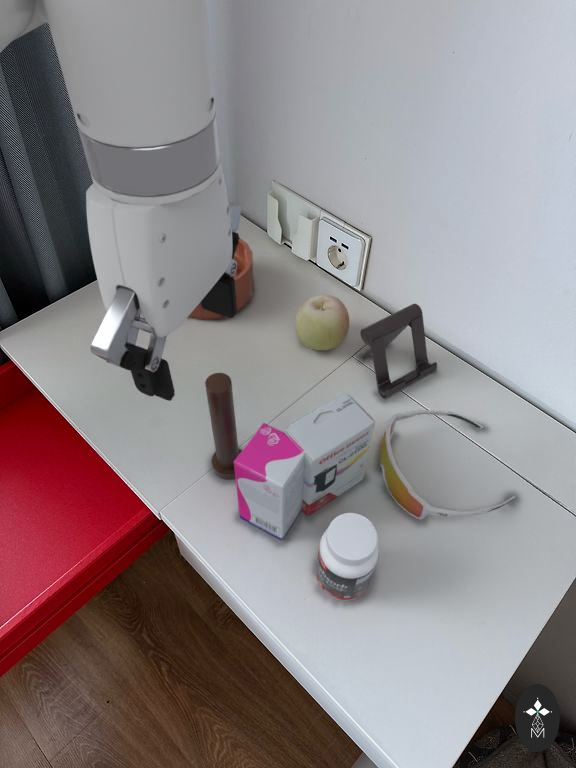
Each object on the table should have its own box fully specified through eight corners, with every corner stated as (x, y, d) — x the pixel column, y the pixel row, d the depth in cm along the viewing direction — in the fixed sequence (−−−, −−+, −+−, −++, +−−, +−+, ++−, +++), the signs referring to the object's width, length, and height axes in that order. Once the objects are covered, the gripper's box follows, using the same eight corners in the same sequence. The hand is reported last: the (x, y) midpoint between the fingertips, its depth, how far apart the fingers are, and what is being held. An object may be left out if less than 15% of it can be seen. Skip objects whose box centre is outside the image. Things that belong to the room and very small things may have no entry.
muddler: (211, 480, 67) (197, 399, 55) (212, 451, 70) (198, 367, 58) (246, 479, 67) (238, 397, 55) (245, 450, 70) (238, 366, 58)
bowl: (164, 323, 84) (156, 289, 78) (170, 265, 92) (164, 231, 87) (254, 320, 84) (253, 286, 79) (253, 262, 92) (251, 228, 87)
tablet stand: (384, 402, 75) (394, 360, 68) (348, 364, 79) (354, 321, 72) (434, 374, 78) (449, 331, 71) (397, 339, 82) (407, 295, 76)
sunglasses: (361, 429, 72) (371, 405, 68) (470, 424, 75) (485, 400, 71) (392, 534, 63) (406, 513, 59) (514, 523, 66) (535, 502, 63)
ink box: (306, 518, 64) (311, 463, 55) (281, 487, 67) (281, 429, 58) (365, 479, 68) (378, 421, 58) (338, 450, 70) (347, 390, 61)
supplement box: (308, 499, 66) (312, 444, 57) (282, 542, 62) (282, 490, 53) (265, 477, 67) (263, 420, 58) (237, 517, 64) (230, 463, 55)
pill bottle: (304, 574, 60) (308, 533, 53) (340, 538, 63) (349, 495, 55) (345, 614, 58) (355, 578, 50) (381, 575, 60) (396, 535, 53)
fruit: (336, 366, 79) (341, 325, 72) (287, 350, 80) (287, 308, 74) (354, 330, 83) (360, 288, 77) (307, 315, 85) (310, 273, 79)
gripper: (177, 74, 39) (203, 272, 52) (-7, 208, 29) (83, 411, 42) (277, 97, 37) (278, 297, 50) (117, 249, 27) (171, 448, 40)
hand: (189, 349), depth 46 cm, fingers open, 9 cm apart
